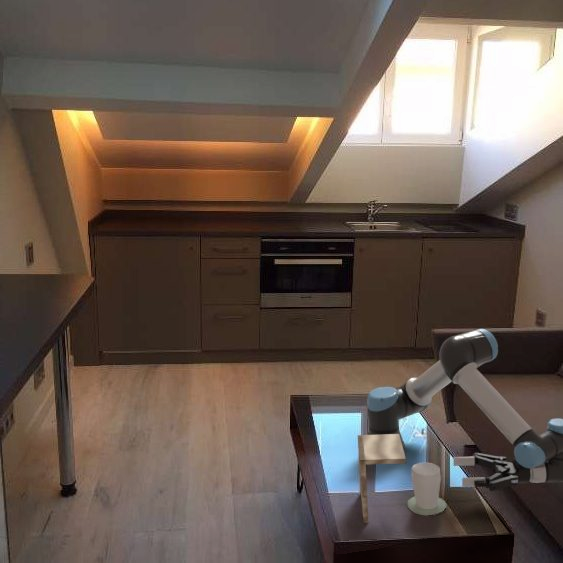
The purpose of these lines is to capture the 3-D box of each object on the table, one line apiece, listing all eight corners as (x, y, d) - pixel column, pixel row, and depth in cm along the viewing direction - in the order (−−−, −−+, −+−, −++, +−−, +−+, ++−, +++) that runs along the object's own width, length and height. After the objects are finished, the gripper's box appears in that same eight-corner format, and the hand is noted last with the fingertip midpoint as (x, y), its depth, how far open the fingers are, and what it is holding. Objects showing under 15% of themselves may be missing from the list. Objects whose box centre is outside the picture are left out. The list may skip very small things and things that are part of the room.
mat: (418, 492, 206) (418, 491, 206) (452, 502, 198) (452, 501, 198) (400, 508, 197) (400, 507, 197) (435, 520, 189) (435, 518, 189)
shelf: (401, 492, 207) (399, 433, 203) (408, 521, 189) (405, 458, 186) (360, 493, 208) (357, 435, 205) (363, 522, 190) (360, 459, 187)
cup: (442, 512, 192) (441, 476, 190) (412, 511, 194) (411, 475, 192) (441, 497, 201) (439, 462, 199) (412, 496, 202) (411, 461, 201)
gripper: (541, 502, 181) (466, 503, 183) (515, 462, 205) (450, 464, 207) (541, 478, 180) (466, 480, 181) (515, 441, 204) (450, 442, 206)
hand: (457, 471), depth 194 cm, fingers open, 13 cm apart
